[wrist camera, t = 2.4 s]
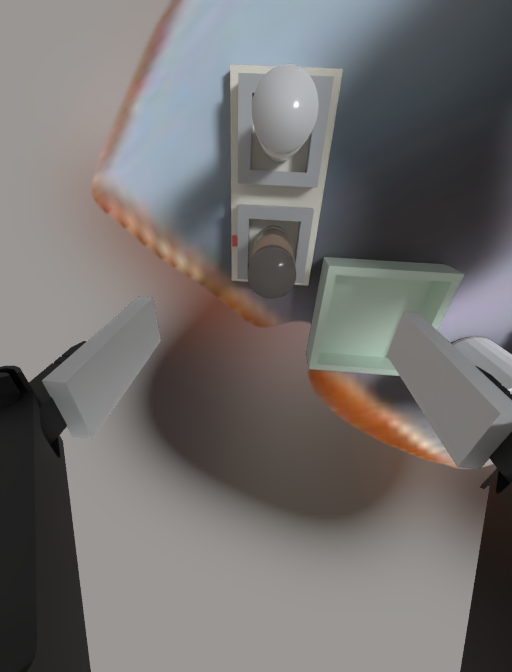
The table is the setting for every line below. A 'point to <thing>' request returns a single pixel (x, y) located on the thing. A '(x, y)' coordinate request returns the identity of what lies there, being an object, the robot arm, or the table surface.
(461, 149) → the table surface
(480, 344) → the mug
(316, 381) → the table surface
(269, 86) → the fuse
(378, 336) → the parts tray
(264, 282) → the fuse
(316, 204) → the panel
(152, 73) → the table surface
